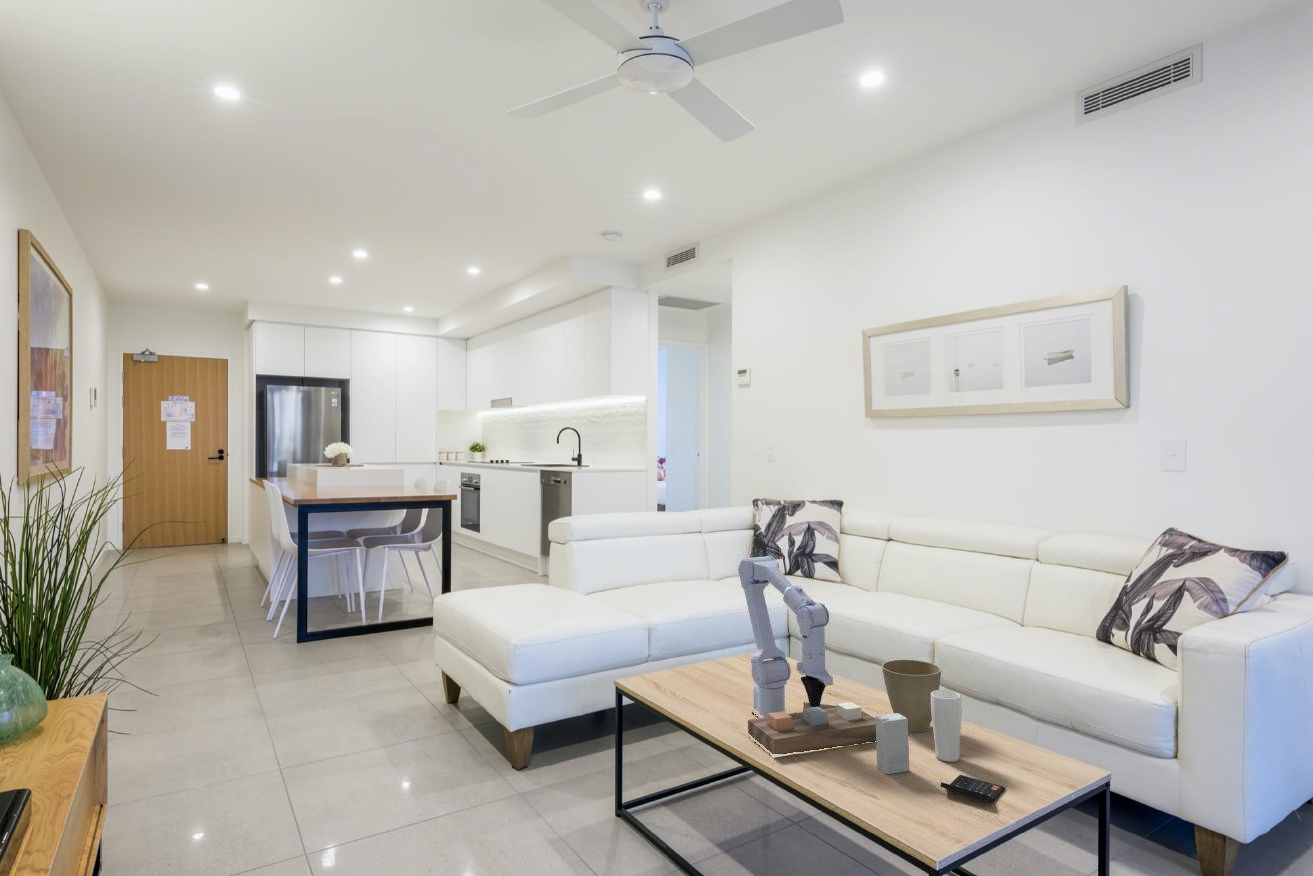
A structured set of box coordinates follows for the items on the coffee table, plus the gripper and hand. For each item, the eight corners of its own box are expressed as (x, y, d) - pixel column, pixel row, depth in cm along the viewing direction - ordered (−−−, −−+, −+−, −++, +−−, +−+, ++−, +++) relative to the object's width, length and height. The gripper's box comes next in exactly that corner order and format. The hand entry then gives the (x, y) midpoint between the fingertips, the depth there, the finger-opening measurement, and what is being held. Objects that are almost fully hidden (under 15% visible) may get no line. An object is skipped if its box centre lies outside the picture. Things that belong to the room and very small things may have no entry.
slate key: (803, 722, 183) (802, 708, 183) (818, 720, 184) (817, 706, 184) (812, 728, 178) (811, 714, 178) (827, 726, 180) (827, 712, 180)
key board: (748, 737, 183) (747, 719, 183) (852, 722, 192) (851, 705, 193) (773, 758, 170) (773, 739, 170) (884, 741, 179) (883, 722, 179)
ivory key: (837, 717, 186) (836, 703, 186) (851, 715, 187) (851, 701, 187) (846, 723, 181) (846, 709, 182) (861, 721, 183) (861, 707, 183)
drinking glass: (944, 766, 164) (942, 700, 165) (926, 754, 171) (924, 691, 171) (969, 762, 166) (967, 697, 166) (950, 751, 172) (948, 688, 173)
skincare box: (899, 764, 165) (897, 711, 166) (910, 772, 161) (909, 718, 161) (875, 767, 164) (874, 714, 164) (886, 775, 159) (885, 721, 160)
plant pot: (916, 714, 197) (914, 656, 198) (955, 733, 183) (954, 671, 184) (871, 722, 192) (870, 662, 193) (908, 742, 178) (906, 677, 179)
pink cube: (768, 727, 179) (767, 713, 180) (783, 725, 181) (783, 711, 181) (776, 733, 175) (776, 719, 175) (792, 731, 177) (791, 717, 177)
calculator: (1005, 790, 152) (1004, 776, 152) (987, 811, 143) (987, 796, 143) (959, 778, 158) (959, 764, 158) (940, 797, 150) (940, 782, 150)
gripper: (785, 647, 187) (787, 699, 187) (814, 661, 174) (815, 717, 173) (809, 644, 190) (810, 696, 189) (839, 658, 176) (841, 713, 175)
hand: (814, 706), depth 181 cm, fingers closed
